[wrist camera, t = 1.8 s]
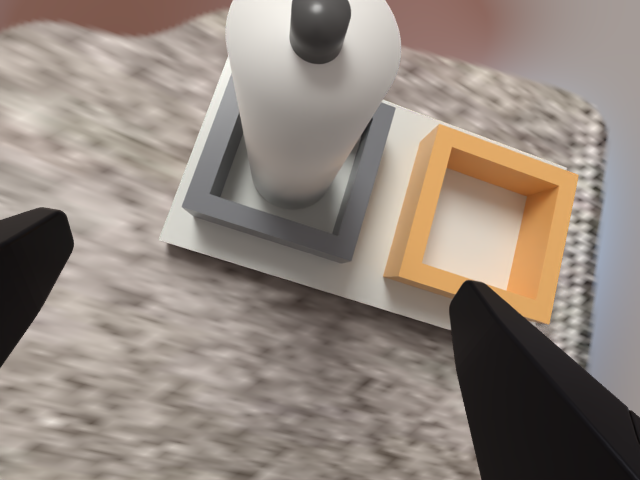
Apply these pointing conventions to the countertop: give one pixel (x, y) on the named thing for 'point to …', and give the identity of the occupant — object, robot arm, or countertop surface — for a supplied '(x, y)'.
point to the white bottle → (307, 87)
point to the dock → (386, 215)
